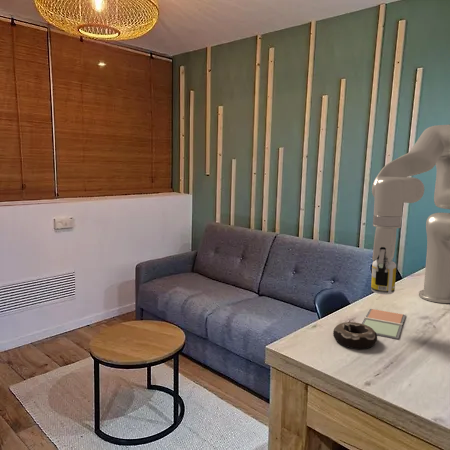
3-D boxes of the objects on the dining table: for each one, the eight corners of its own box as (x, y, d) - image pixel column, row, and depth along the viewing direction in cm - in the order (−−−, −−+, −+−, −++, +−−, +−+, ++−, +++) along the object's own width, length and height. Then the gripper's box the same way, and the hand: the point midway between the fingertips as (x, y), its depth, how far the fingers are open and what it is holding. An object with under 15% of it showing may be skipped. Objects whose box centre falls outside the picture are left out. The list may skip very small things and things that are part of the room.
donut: (381, 339, 111) (382, 325, 111) (370, 355, 102) (371, 341, 101) (340, 329, 118) (341, 316, 117) (327, 344, 108) (327, 330, 107)
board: (370, 309, 133) (370, 307, 133) (405, 316, 128) (405, 313, 127) (357, 331, 116) (358, 328, 116) (398, 339, 110) (398, 336, 110)
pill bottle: (390, 288, 118) (392, 251, 117) (397, 295, 112) (400, 256, 110) (368, 287, 119) (370, 250, 117) (374, 294, 113) (376, 255, 111)
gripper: (378, 217, 122) (374, 273, 124) (367, 224, 107) (364, 287, 109) (404, 218, 118) (400, 276, 121) (397, 226, 103) (393, 292, 106)
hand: (383, 281), depth 115 cm, fingers closed on pill bottle, 6 cm apart
